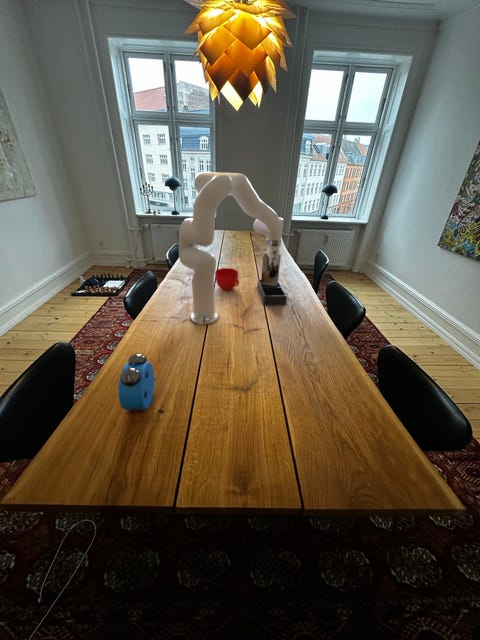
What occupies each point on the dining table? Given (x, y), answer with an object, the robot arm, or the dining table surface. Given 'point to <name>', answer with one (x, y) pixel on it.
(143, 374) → the alarm clock
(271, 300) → the black divided tray
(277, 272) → the coffee box
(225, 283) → the ceramic cup
